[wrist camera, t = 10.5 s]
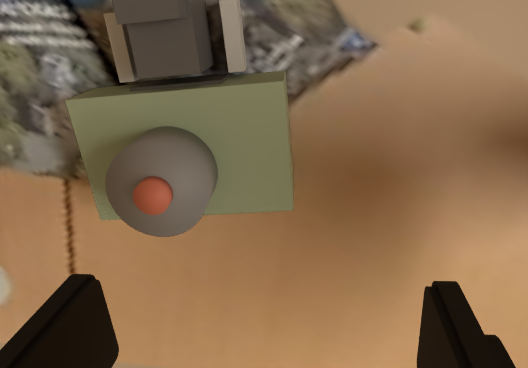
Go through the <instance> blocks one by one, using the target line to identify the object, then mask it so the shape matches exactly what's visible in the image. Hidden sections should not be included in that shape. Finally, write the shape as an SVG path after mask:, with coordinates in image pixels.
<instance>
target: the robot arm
mask: <svg viewBox="0 0 528 368" xmlns="http://www.w3.org/2000/svg"><path fill="white" fill-rule="evenodd" d="M118 352H119V347H118V343H117V339H116V336H115V332H114V329H113V325H112V322H111V318H110V315H109V311H108V308H107V304H106V301H105V297H104V294H103V290H102V287H101V284H100V281H99V280H96V279H95V277H94V276H93V275H91V274H73V275H71V276H69V277H68V278H67V279H66V281H65V282H64V283H63V284H62V285H61V286H60V287H59V288H58V289H57V290H56V291H55V292H54V293H53V294H52V295H51V297H50V298H49V299H48V300H47V301H46V302H45V303H44V304H43V305H42V306H41V307H40V308H39V309H38V310H37V311H36V313H35V314H34V315H33V316H32V317H31V318H30V319H29V320H28V321H27V322H26V323H25V324H24V325H23V326H22V327H21V329H20V330H19V331H18V332H17V333H16V334H15V335H14V336H13V337H12V338H11V339H10V340H9V341H8V342H7V343H6V345H5V346H4V347H3V348H2V349H1V350H0V368H112V366H113V364H114V363H115V361H116V359H117V357H118ZM417 368H516V367H515V365H514V364H513V362H512V360H511V358H510V356H509V354H508V353H507V351H506V349H505V347H504V345H503V344H502V342H501V341H500V339H499V338H498V337H497V336H496V335H484V333H483V331H482V329H481V327H480V325H479V323H478V321H477V319H476V317H475V315H474V313H473V311H472V309H471V307H470V305H469V303H468V302H467V300H466V298H465V296H464V294H463V292H462V290H461V288H460V286H459V284H458V283H457V282H456V281H434V282H433V283H432V287H428V286H426V287H425V291H424V300H423V309H422V318H421V327H420V336H419V345H418V354H417Z"/></svg>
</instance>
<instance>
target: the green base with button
mask: <svg viewBox="0 0 528 368" xmlns="http://www.w3.org/2000/svg"><path fill="white" fill-rule="evenodd" d="M219 4H220V11H221V19H222V26H223V34H224V42H225V49H226V57H227V65H228V72H229V73H231V72H242V71H245V70H246V69H247V61H246V52H245V43H244V34H243V25H242V16H241V7H240V0H220V1H219ZM104 19H105V23H106V27H107V31H108V35H109V39H110V44H111V48H112V52H113V56H114V60H115V64H116V69H117V73H118V77H119V81H120V83H122V82H133V81H136V80H139V79H138V75H137V70H136V66H135V61H134V56H133V52H132V47H131V43H130V38H129V34H128V29H127V25H126V24H121V25H117V21H116V16H115V12H114V13H105V14H104ZM65 102H66V106H67V109H68V112H69V116H70V119H71V123H72V126H73V129H74V133H75V136H76V139H77V143H78V146H79V149H80V153H81V156H82V159H83V163H84V166H85V169H86V173H87V176H88V179H89V183H90V186H91V189H92V193H93V196H94V199H95V203H96V206H97V209H98V213H99V216H100V219H101V220H116V219H122V220H123V221H124V222H125V223H126V224H128V225H129V226H131V227H132V228H134V229H135V230H137V231H140V232H142V233H145V234H147V235H152V236H158V237H169V236H175V235H179V234H182V233H184V232H186V231H188V230H189V229H191V228H192V227H193V226H195V225H196V224H197V223H198V221H199V220H200V219H201V217H202V215H216V214H236V213H256V212H276V211H293V210H294V176H293V162H292V149H291V136H290V122H289V109H288V96H287V82H286V71H277V72H266V73H255V74H244V75H233V76H229V74H221V75H210V76H199V77H188V78H177V79H166V80H156V81H145V82H142V83H140V84H133V85H122V86H111V87H100V88H95V89H92V90H90V91H87V92H85V93H82V94H80V95H77V96H74V97H72V98H69V99H67V100H65Z"/></svg>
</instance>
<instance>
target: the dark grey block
mask: <svg viewBox="0 0 528 368" xmlns="http://www.w3.org/2000/svg"><path fill="white" fill-rule="evenodd" d="M112 3H113V7H114V12H115V16H116V21H117V25H121V24H126V25H127V29H128V34H129V38H130V43H131V47H132V52H133V56H134V61H135V66H136V70H137V75H138V79H143V78H154V77H165V76H176V75H187V74H198V73H202V72H203V71H205V70H206V69H208V68H209V67H211V66H213V65H214V58H213V51H212V44H211V37H210V30H209V23H208V16H207V9H206V2H205V0H112Z"/></svg>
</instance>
